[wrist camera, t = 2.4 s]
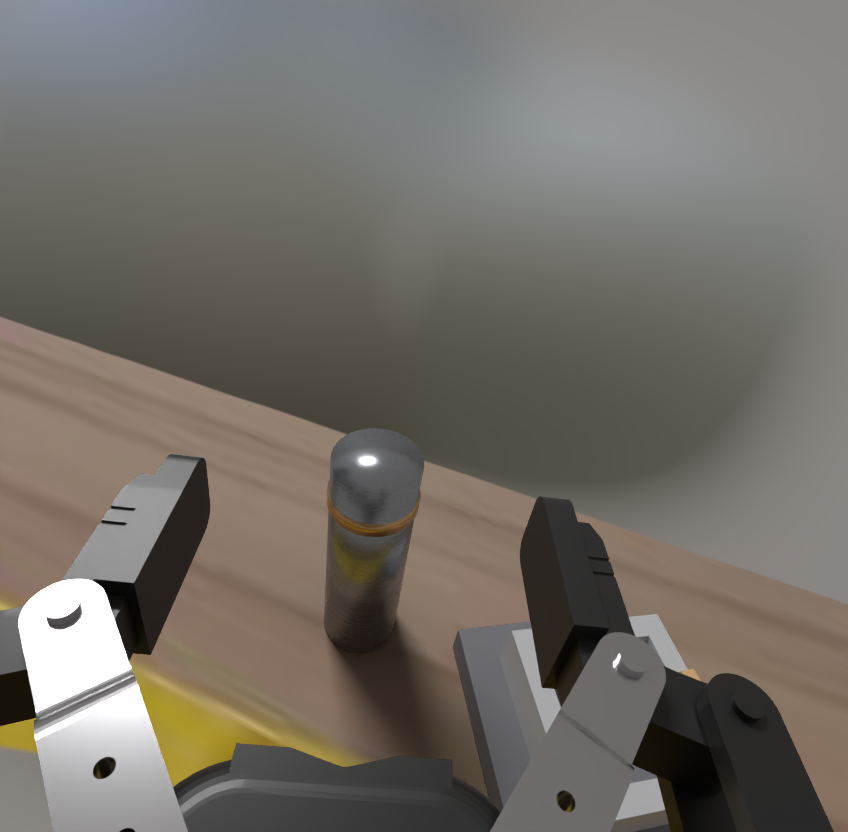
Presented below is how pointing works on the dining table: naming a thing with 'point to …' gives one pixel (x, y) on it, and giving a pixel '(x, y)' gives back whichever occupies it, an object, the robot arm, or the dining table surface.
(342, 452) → the metal canister
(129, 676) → the robot arm
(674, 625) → the dining table surface
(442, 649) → the dining table surface
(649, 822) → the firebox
